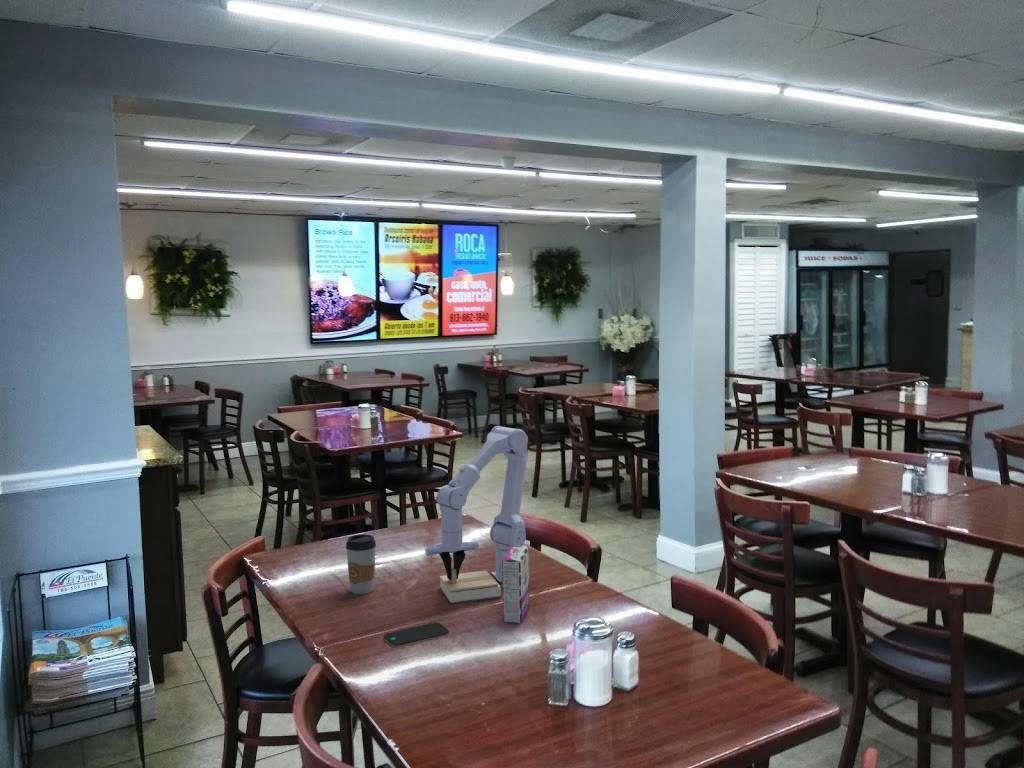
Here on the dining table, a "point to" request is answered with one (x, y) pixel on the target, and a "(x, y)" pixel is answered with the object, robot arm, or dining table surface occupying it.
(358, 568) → the coffee cup
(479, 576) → the beige sliding box lid
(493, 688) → the dining table surface
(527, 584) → the candy bar box
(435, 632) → the smartphone
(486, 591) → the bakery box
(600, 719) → the dining table surface
